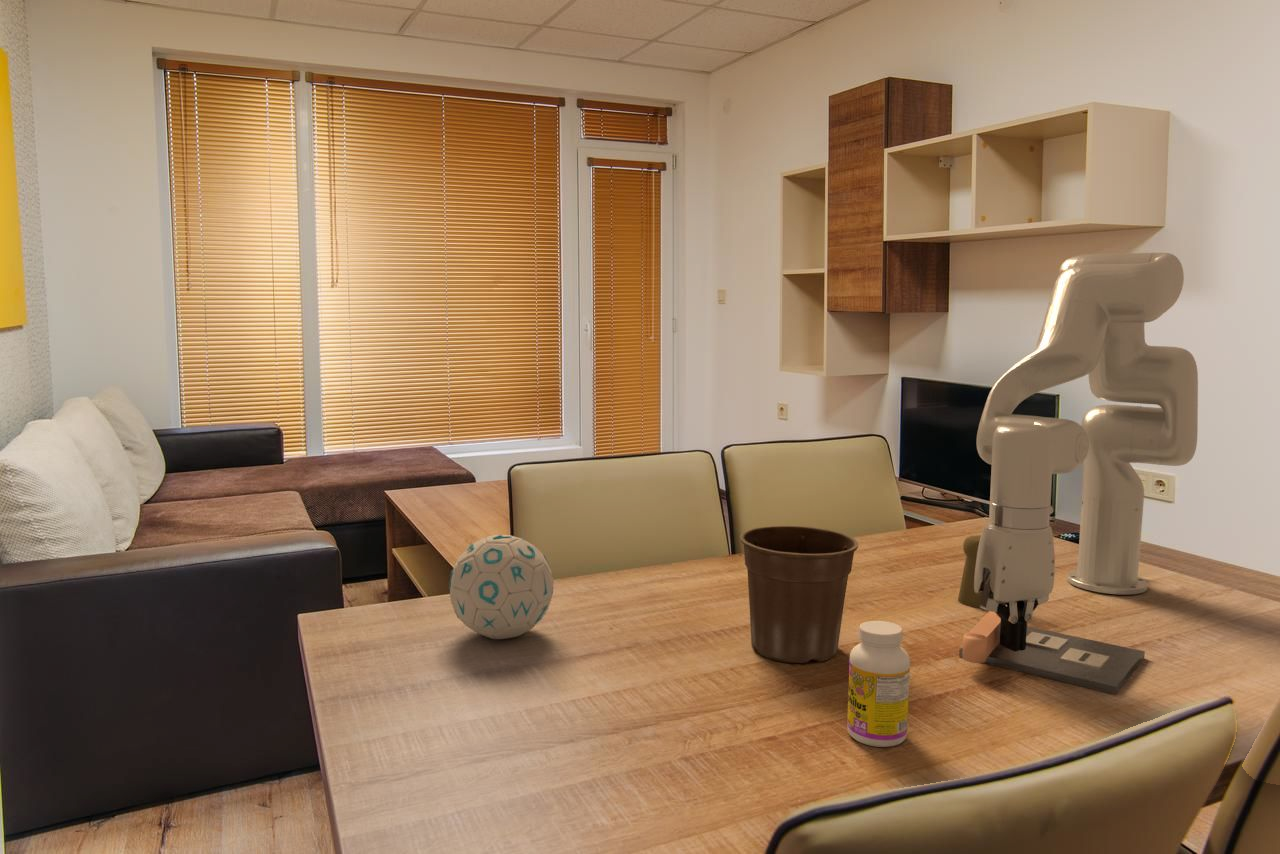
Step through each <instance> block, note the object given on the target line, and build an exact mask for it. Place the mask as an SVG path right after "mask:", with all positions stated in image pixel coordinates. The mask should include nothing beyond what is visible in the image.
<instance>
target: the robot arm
mask: <svg viewBox="0 0 1280 854" xmlns="http://www.w3.org/2000/svg"><path fill="white" fill-rule="evenodd" d="M1184 275H1185V273H1184V269H1183V265H1182V262H1181V260H1180V259H1179V258H1178V257H1177V256H1176V255H1175V254H1173V253H1170V252H1135V253H1134V252H1131V253H1122V252H1121V253H1119V252H1118V253H1111V252H1110V253H1091V254H1090V253H1089V254H1088V253H1087V254H1078V255H1074V256H1071V257H1070V258H1066V260H1064V261H1063V262H1062V263H1061V265H1060V267H1059V271H1058V276H1057V279H1056V280H1055V282H1054V285H1053V289H1052V292H1051V294H1050V298H1049V302H1048V304H1047V308H1046V312H1045V314H1044V315H1045V316H1044V320H1043V322H1042V326H1041V330H1040V332H1039V335H1038V340H1037V343H1036V347H1035V349H1034V350H1033V351H1032V352H1030V353H1029V354H1028V355H1026V356H1025V357H1023V358H1021V359H1020V360H1018V361H1017V362H1016V363H1015V364H1014V365H1012V366H1011V367H1010V368H1009V369H1008V370H1006V372H1004V373H1003V374H1002V375H1001V376H1000V378H999V379H998V380H997V381H996V382H995V383H994V385H993V386H992V388H991V390H990V391H989V393H988V396H987V399H986V402H985V404H984V407H983V411H982V414H981V418H980V419H979V420H980V421H979V424H978V429H977V433H976V450H977V453H978V456H979V457H980V458H981V459H982V461H984V462H985V463H987V464H988V465H991V467H990V468H991V475H990V496H989V510H988V511H989V514H988V515H989V518H988V524H985V525H984V526H983V527H982V531H981V535H980V536H981V538H980V542H979V547H978V552H977V559H976V567H975V577H974V591H975V593H977V594H979V595H982V598H981V602H980V607H981V609H983V610H985V611H987V612H989V611H992V612H995V613H996V614H997V617H999V618H1001V624H1000V644H1001V645H1002V646H1004V647H1006V648H1008V649H1010V650H1012V651H1014V652H1016V651H1019V650H1021V651H1022V650H1025V649H1026V632H1027V626H1028V622H1030V621H1031V620H1032V618H1033V612H1034V611H1035V609H1036V608H1037V607H1038V606H1040V605H1043V604H1044V603H1045V604H1046V603H1047V602H1048V601H1049V599H1050V594H1051V593H1052V592H1053V590H1054V583H1055V570H1056V566H1055V565H1056V563H1055V561H1056V559H1055V543H1054V534H1053V529H1052V526H1051V525H1050V521H1051V518H1050V517H1051V514H1053V513H1054V508H1053V506H1052V505H1051V502H1052V501H1051V499H1052V485H1053V483H1052V482H1053V481H1052V480H1053V475H1054V474H1055V475H1059V474H1063V475H1064V474H1068V473H1071V472H1074V471H1075V470H1076V469H1078V468H1079V467H1080V466H1081V465H1082V464H1083V479H1082V480H1083V481H1082V497H1081V512H1080V526H1079V538H1078V539H1079V541H1078V542H1079V543H1078V557H1077V569H1072V570H1070V571H1069V572H1068V573H1067V576H1066V577H1067V579H1066V580H1067V581H1068V583H1069V584H1071V585H1072V586H1075V587H1077V588H1080V589H1083V590H1086V591H1091V592H1094V593H1099V594H1107V595H1109V594H1110V595H1120V596H1122V595H1124V596H1127V595H1131V596H1132V595H1138V594H1142V593H1145V592H1146V591H1147V590H1148V582H1147V580H1145V579H1144V578H1142V577H1141V576H1139V567H1140V555H1141V554H1140V553H1141V544H1142V543H1141V542H1142V541H1141V540H1142V530H1143V529H1142V527H1143V515H1144V501H1145V499H1144V498H1145V488H1144V484H1143V481H1142V480H1141V478H1140V476H1139V474H1138V473H1137V471H1136V470H1135V468H1134V467H1133V466H1132V464H1133V463H1134V464H1136V463H1138V464H1147V465H1148V464H1149V465H1157V466H1170V467H1180V466H1183V465H1186V464H1188V463H1189V462H1191V460H1192V459H1193V458H1194V456H1195V453H1196V449H1197V445H1198V444H1197V443H1198V429H1199V428H1198V424H1199V422H1198V421H1199V419H1198V416H1199V415H1198V411H1199V410H1198V409H1199V405H1198V404H1199V402H1198V401H1199V399H1198V398H1199V378H1198V375H1199V374H1198V373H1199V372H1198V366H1197V362H1196V358H1195V356H1194V355H1193V354H1192V353H1191V352H1190V351H1189V350H1187V349H1185V348H1182V347H1179V346H1178V347H1177V346H1165V345H1164V346H1163V345H1161V346H1160V345H1159V346H1157V345H1148V344H1147V343H1146V341H1145V340H1146V339H1145V338H1146V337H1145V333H1146V332H1145V323H1150V322H1154V321H1155V320H1157V319H1159V318H1160V317H1161V316H1162V315H1163V314H1165V313H1167V312H1168V310H1170V309H1172V307H1173V306H1174V305H1175V304H1176V302H1177V301H1178V300H1179V298H1180V297H1181V296H1180V295H1181V293H1182V290H1183V287H1184V286H1183V285H1184V279H1185V278H1184V277H1185V276H1184ZM1087 375H1088V383H1089V389H1090V391H1091V394H1093V396H1094V397H1096V398H1097V399H1100V400H1103V401H1108V402H1115V403H1129V404H1140V405H1127V404H1126V405H1125V404H1101V405H1097V406H1095V407H1092V408H1090V409H1089V410H1087V411H1086V412H1085V414H1084V415H1083V417H1082V419H1081V423H1078V422H1076V421H1075V420H1071V419H1067V418H1060V417H1059V418H1058V417H1049V416H1048V417H1047V416H1046V417H1045V416H1037V415H1025V414H1013V412H1014V410H1015V409H1016V408H1017V407H1018V405H1019V404H1021V403H1022V402H1023V401H1024V400H1026V399H1028V398H1029V397H1030V396H1033V395H1035V394H1037V393H1039V392H1041V391H1045V390H1047V389H1050V388H1053V387H1056V386H1059V385H1063V384H1065V383H1069V382H1072V381H1074V380H1077V379H1080V378H1083V377H1084V376H1087ZM1141 404H1143V405H1157V406H1159V407H1152V406H1151V407H1150V406H1141ZM1131 463H1132V464H1131ZM1006 605H1007V606H1006Z"/></svg>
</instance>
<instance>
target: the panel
mask: <svg viewBox="0 0 1280 854" xmlns="http://www.w3.org/2000/svg"><path fill="white" fill-rule="evenodd" d="M962 653H963V646H962V647H961V648H960V649H959V653H958V654H959V658H962ZM1145 653H1146V651H1144V650H1140V649H1136V648H1131V647H1126V646H1122V645H1118V644H1117V645H1116V644H1113V643H1107V642H1102V641H1098V640H1093V639H1088V638H1084V637H1079V636H1076V635H1075V636H1073V635H1069V634H1065V633H1062V632H1061V633H1059V632H1056V631H1050V630H1047V629H1042V628H1037V627H1032V626H1028V625H1027V632H1026V649H1025V650H1022V651H1021V650H1019V651H1016V652H1014V651H1012V650H1010V649H1008V648H1006V647H1004V646H1002V645H1001V644H1000V643H999V644H998V645H997V646H996V647H995V649H994V650H993V651H992V652H991V653H990V654H989V656H988V657H987V658H986V662H984V663H983V664H988V665H992V666H997V667H1001V668H1005V669H1010V670H1013V671H1016V670H1017V671H1018V672H1021V673H1026V674H1029V675H1034V676H1037V675H1038V676H1037V677H1041V676H1042V678H1045V679H1049V678H1050V680H1055V681H1059V682H1062V681H1063V682H1062V683H1066V682H1067V684H1070V683H1071V685H1074V684H1075V686H1078V685H1079V687H1083V688H1087V689H1091V690H1095V691H1100V692H1103V693H1106V694H1107V693H1108V694H1110V695H1111V694H1112V695H1116V694H1117V693H1118V692H1119V691H1120V689H1121V688H1122V686H1123V685H1124V684H1125V683H1126V681H1127V680H1129V678H1130V677H1131V676H1132V674H1133V673H1134V672H1135V671H1136V670H1137V668H1138V667H1139V665H1140V664H1141V663H1142V662H1143V661H1144V659H1145V657H1146V656H1145Z"/></svg>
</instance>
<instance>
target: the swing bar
mask: <svg viewBox="0 0 1280 854" xmlns="http://www.w3.org/2000/svg"><path fill="white" fill-rule="evenodd" d="M1006 606H1007V605H1006ZM1000 624H1001V618H999V617H997V614H996V613H995V612H992V611H987V613H986V614H985V615H984V616H983V617H982V618H980V620H979V621H978V622H977V623H976V624H975V625H974V626H973V627H972V629H970V630H969V631H968V632H967V633H965V634H963V636H962V637H963V638H962V647H963V653H962V657H961V658H962V659H963V660H964V661H966V662H968V663H971V664H985V663H984V662H986V658H987V657H988V656H989V654H990V653H991V652H992V651H993V650H994V649H995V647H996V646H997V645H998V644H999V643H1000Z"/></svg>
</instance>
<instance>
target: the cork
mask: <svg viewBox="0 0 1280 854" xmlns="http://www.w3.org/2000/svg"><path fill="white" fill-rule="evenodd" d="M980 538H981V535H978V534H977V535H969V536H967V537H966V538H964V541H963V545H962V549H963V553H964V555H965V560H964V566H963V572H962V575H961V576H962V577H961V580H960V581H961V582H960V585H959V586H960V588H959V593H958V596H957V602H959V604H962V605H965V606H967V607H972V608H981V607H980V602H981V598H982V595H979V594H977V593H975V591H974V577H975V567H976V559H977V552H978V547H979V542H980ZM981 609H982V608H981Z"/></svg>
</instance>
